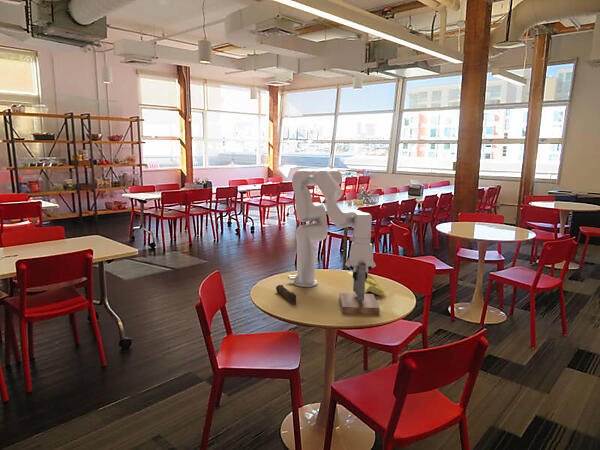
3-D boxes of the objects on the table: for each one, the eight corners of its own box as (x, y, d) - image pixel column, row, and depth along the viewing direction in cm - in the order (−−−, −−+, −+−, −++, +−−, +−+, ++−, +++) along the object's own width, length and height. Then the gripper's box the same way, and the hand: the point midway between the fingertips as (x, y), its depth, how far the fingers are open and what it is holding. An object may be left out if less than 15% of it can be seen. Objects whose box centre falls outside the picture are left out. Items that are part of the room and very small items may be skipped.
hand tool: (275, 292, 203) (275, 283, 202) (283, 291, 205) (283, 282, 204) (289, 306, 186) (290, 296, 185) (298, 305, 188) (298, 295, 187)
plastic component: (385, 291, 201) (368, 284, 199) (378, 304, 202) (361, 296, 200) (373, 276, 220) (357, 269, 218) (366, 288, 221) (350, 280, 219)
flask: (360, 289, 194) (362, 252, 190) (366, 301, 180) (368, 261, 176) (352, 289, 194) (354, 252, 190) (358, 301, 179) (360, 261, 176)
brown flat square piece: (342, 313, 179) (342, 306, 179) (339, 299, 196) (339, 293, 195) (379, 314, 179) (379, 307, 179) (372, 299, 196) (373, 294, 195)
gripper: (343, 241, 178) (342, 282, 182) (382, 242, 178) (379, 283, 182) (342, 238, 186) (340, 277, 189) (379, 239, 185) (376, 277, 189)
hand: (359, 279), depth 185 cm, fingers closed on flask, 3 cm apart
